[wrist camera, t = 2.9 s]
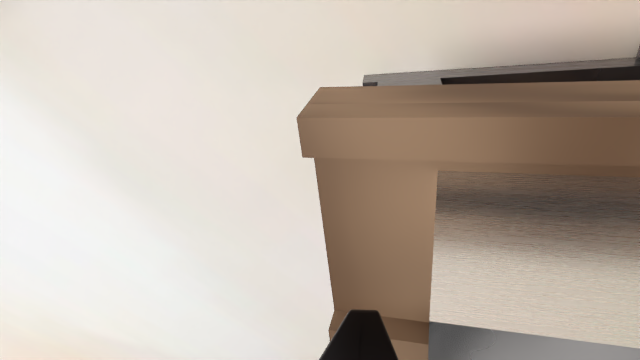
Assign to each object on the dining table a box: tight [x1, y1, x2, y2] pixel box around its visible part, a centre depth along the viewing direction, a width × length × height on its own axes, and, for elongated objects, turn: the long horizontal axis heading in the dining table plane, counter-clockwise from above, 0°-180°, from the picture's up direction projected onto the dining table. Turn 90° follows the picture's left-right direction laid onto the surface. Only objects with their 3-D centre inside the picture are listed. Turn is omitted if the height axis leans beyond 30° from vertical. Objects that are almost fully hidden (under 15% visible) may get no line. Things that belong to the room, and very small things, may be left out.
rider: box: [428, 171, 640, 360], centre depth 8 cm, size 6×5×4 cm
